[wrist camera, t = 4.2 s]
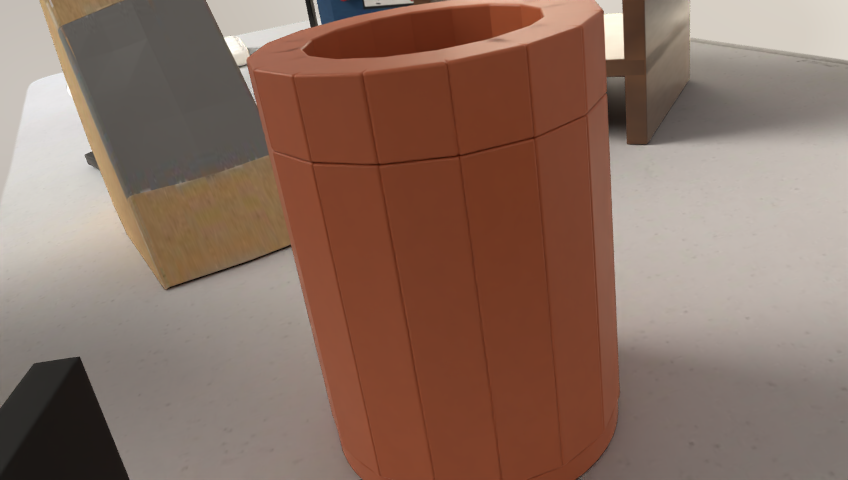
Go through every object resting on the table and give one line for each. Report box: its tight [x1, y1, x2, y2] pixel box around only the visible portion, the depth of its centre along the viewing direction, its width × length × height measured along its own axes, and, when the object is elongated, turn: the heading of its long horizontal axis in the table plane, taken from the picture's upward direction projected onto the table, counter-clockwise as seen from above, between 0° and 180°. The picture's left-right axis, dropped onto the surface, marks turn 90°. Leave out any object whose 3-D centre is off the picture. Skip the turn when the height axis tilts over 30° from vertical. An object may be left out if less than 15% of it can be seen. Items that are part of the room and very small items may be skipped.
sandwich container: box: [40, 0, 291, 289], centre depth 40 cm, size 9×15×15 cm, turn 30°
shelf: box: [413, 0, 690, 144], centre depth 50 cm, size 14×14×11 cm
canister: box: [246, 0, 620, 480], centre depth 21 cm, size 9×9×12 cm
